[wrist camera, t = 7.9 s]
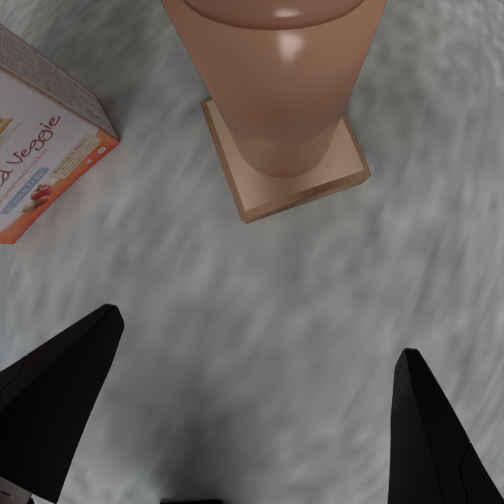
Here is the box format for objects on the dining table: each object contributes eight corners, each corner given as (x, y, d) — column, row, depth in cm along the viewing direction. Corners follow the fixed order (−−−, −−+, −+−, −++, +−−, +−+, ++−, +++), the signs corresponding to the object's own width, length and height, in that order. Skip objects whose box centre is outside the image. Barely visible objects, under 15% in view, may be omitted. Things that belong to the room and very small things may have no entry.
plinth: (246, 223, 21) (240, 219, 18) (209, 117, 21) (198, 99, 18) (361, 183, 20) (373, 173, 17) (316, 81, 20) (319, 60, 17)
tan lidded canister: (279, 198, 18) (264, 82, 5) (216, 131, 18) (115, -25, 5) (349, 137, 17) (435, -23, 4) (284, 75, 18) (274, -105, 5)
